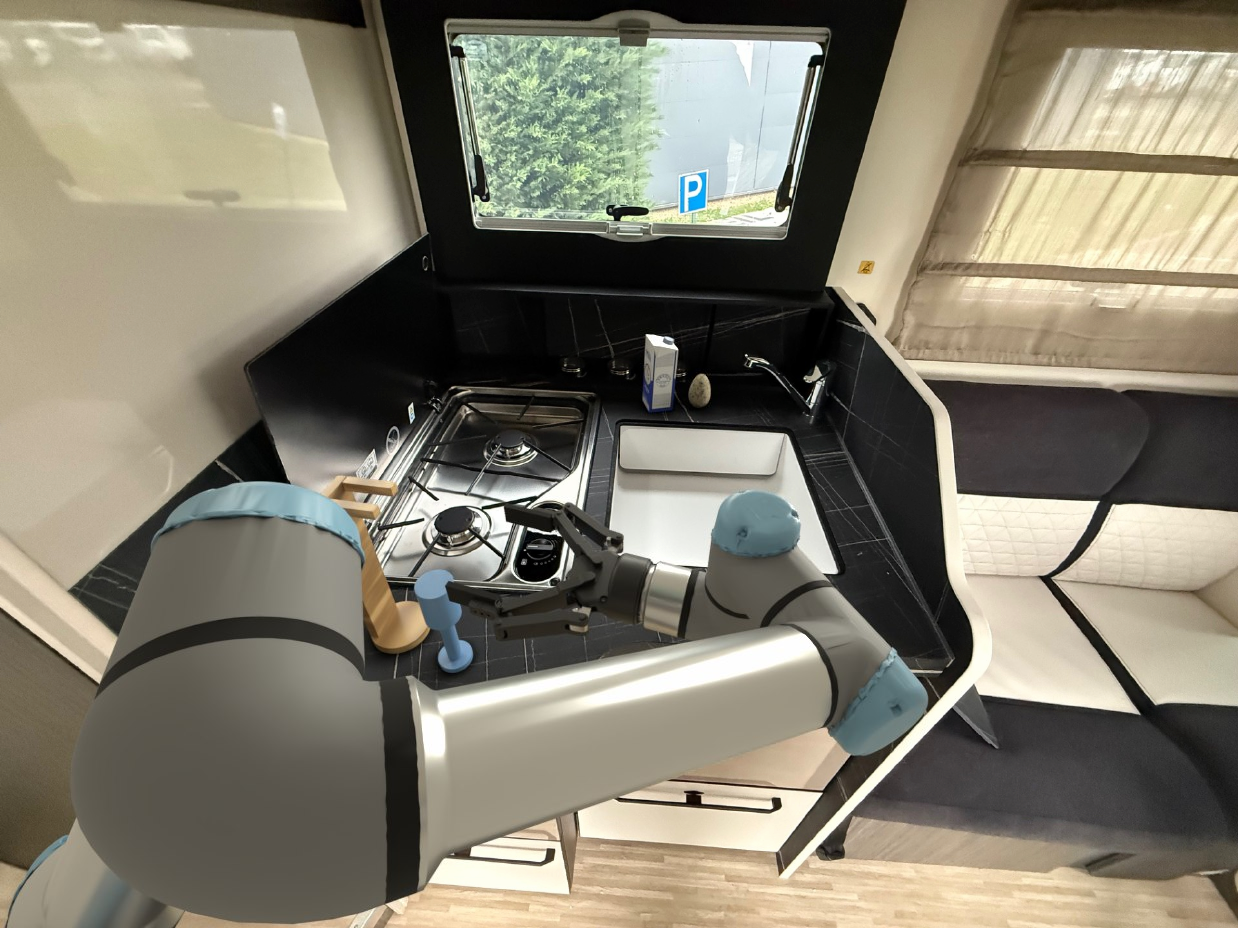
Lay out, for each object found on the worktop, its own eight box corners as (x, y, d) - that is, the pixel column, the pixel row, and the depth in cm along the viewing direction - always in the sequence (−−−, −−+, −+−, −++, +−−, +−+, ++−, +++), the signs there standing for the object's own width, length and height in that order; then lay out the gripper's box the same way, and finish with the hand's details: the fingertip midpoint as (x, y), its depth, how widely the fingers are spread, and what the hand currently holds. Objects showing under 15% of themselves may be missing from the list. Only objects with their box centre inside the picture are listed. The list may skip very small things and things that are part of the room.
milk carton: (642, 400, 147) (645, 333, 135) (664, 397, 149) (670, 331, 137) (649, 412, 142) (653, 344, 130) (672, 410, 143) (679, 342, 131)
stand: (442, 610, 90) (401, 474, 71) (418, 658, 82) (365, 520, 64) (390, 602, 91) (336, 467, 72) (361, 649, 83) (294, 511, 65)
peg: (446, 679, 80) (421, 605, 69) (434, 654, 83) (408, 580, 72) (478, 661, 82) (459, 587, 71) (465, 637, 85) (445, 563, 74)
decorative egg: (698, 398, 149) (702, 367, 143) (713, 407, 145) (717, 375, 139) (682, 405, 146) (686, 373, 140) (697, 414, 142) (702, 381, 136)
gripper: (612, 713, 51) (426, 653, 56) (670, 540, 70) (527, 506, 75) (612, 672, 47) (410, 610, 52) (675, 498, 66) (522, 465, 71)
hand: (479, 548), depth 63 cm, fingers open, 13 cm apart
